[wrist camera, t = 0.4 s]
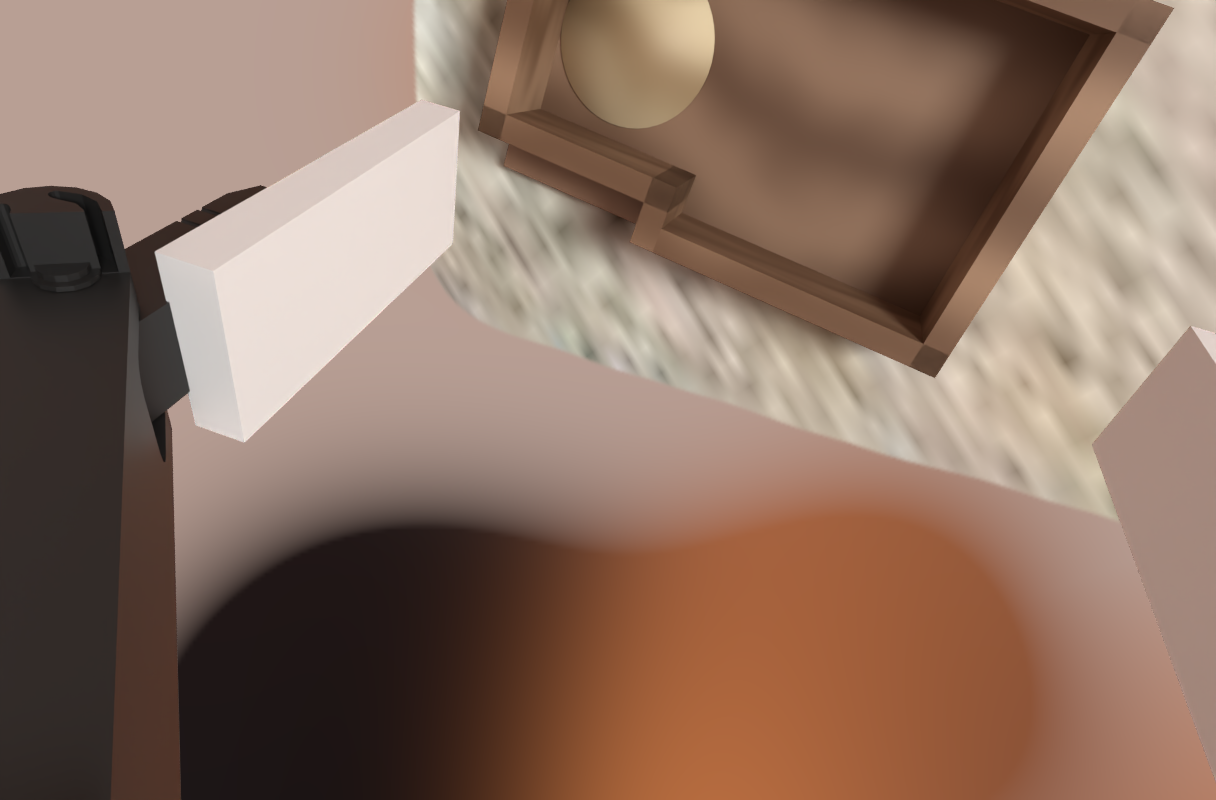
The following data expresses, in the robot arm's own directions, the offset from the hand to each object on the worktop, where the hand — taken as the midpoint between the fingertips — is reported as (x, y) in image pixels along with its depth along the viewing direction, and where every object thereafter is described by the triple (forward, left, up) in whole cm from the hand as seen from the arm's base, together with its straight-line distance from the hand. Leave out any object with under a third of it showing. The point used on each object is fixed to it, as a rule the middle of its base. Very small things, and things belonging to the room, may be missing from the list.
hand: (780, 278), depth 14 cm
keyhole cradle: (-1, -4, -25) cm, 25 cm away
